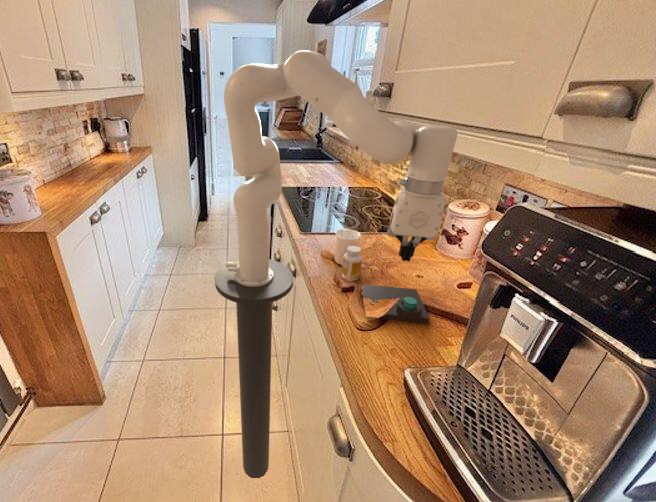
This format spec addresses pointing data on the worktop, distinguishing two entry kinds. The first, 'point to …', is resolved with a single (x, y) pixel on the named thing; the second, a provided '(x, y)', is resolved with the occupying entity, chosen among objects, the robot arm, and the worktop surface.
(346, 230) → the white cup
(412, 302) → the button
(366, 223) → the worktop surface
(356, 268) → the supplement bottle
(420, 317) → the scale
